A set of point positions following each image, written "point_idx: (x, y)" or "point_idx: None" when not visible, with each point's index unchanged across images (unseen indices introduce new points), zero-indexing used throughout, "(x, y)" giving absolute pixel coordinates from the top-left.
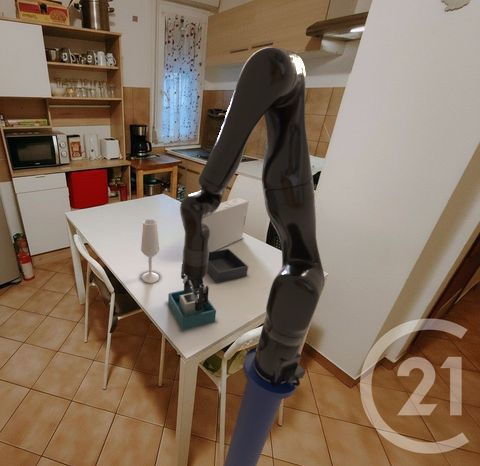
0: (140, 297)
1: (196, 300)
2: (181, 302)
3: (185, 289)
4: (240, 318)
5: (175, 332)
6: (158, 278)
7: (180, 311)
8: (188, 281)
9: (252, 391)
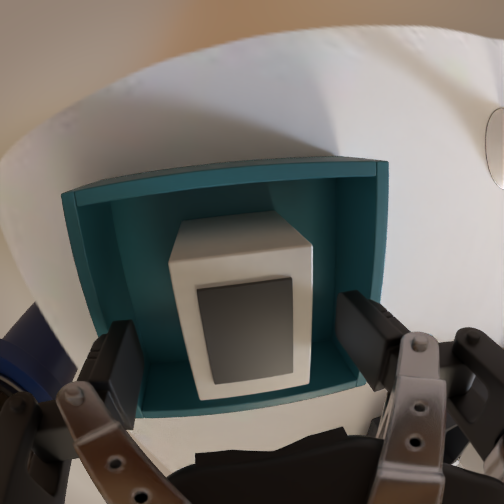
0: (413, 35)
1: (68, 397)
2: (255, 235)
3: (357, 317)
4: (157, 441)
5: (95, 136)
6: (496, 182)
7: (143, 193)
8: (355, 452)
9: (14, 329)
